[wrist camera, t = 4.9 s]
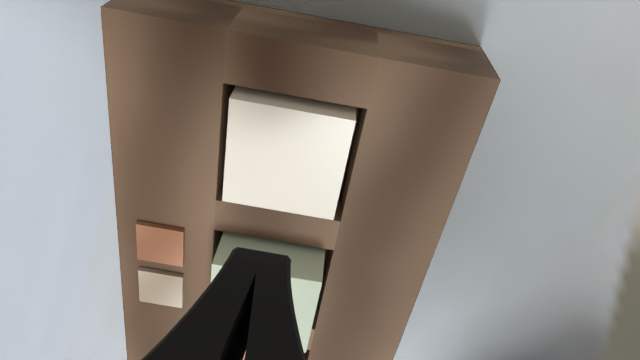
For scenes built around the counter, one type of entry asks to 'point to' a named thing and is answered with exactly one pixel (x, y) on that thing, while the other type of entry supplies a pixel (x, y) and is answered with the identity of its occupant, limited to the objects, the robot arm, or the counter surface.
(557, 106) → the counter surface
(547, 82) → the counter surface
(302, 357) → the robot arm
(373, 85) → the keypad board
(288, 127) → the cream key
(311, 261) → the sage key
